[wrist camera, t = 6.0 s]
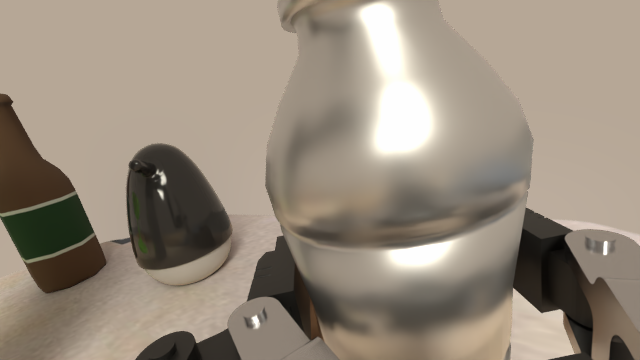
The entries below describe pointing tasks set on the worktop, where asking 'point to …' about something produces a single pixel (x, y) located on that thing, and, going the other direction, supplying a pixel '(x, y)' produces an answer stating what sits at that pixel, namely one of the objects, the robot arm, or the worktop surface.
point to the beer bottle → (43, 211)
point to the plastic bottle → (399, 181)
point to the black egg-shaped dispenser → (174, 217)
